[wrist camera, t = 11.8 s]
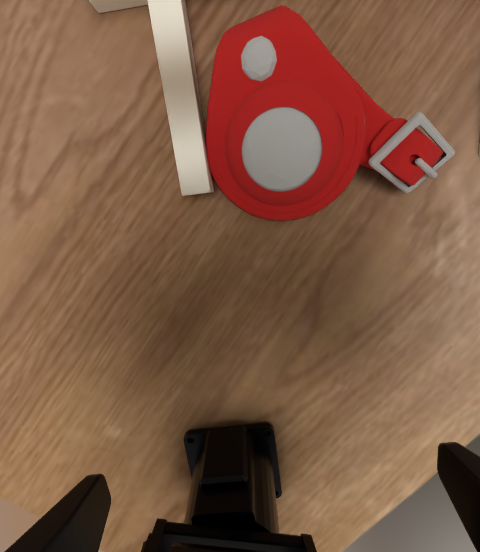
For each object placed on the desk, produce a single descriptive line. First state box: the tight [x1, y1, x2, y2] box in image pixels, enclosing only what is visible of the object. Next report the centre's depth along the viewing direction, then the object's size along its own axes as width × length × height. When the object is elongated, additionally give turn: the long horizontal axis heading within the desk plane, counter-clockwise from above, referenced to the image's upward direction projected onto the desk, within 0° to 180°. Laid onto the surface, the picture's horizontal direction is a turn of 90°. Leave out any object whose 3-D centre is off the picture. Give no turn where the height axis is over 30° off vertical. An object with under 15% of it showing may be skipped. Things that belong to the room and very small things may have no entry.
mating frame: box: [88, 0, 480, 196], centre depth 14 cm, size 12×25×3 cm, turn 98°
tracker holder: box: [206, 6, 455, 221], centre depth 16 cm, size 12×4×10 cm
